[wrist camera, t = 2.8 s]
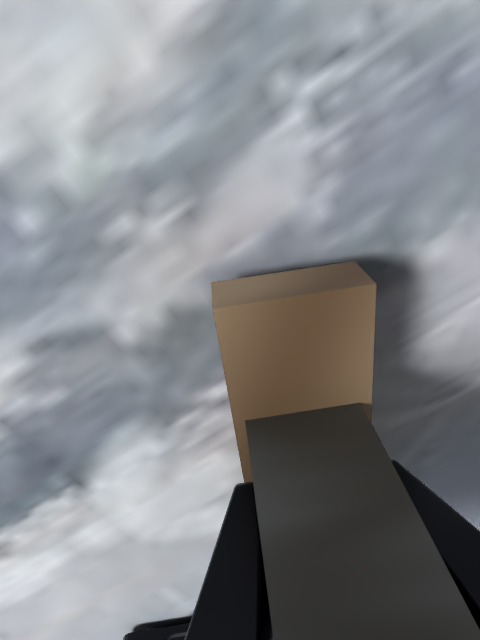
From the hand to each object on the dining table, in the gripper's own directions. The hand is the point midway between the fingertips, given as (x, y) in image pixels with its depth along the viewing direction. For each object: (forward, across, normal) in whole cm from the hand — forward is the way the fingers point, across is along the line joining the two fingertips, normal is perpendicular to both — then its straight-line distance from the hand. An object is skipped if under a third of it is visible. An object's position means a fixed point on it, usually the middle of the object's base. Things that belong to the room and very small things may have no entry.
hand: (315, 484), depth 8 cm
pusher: (+2, 0, 0) cm, 2 cm away
